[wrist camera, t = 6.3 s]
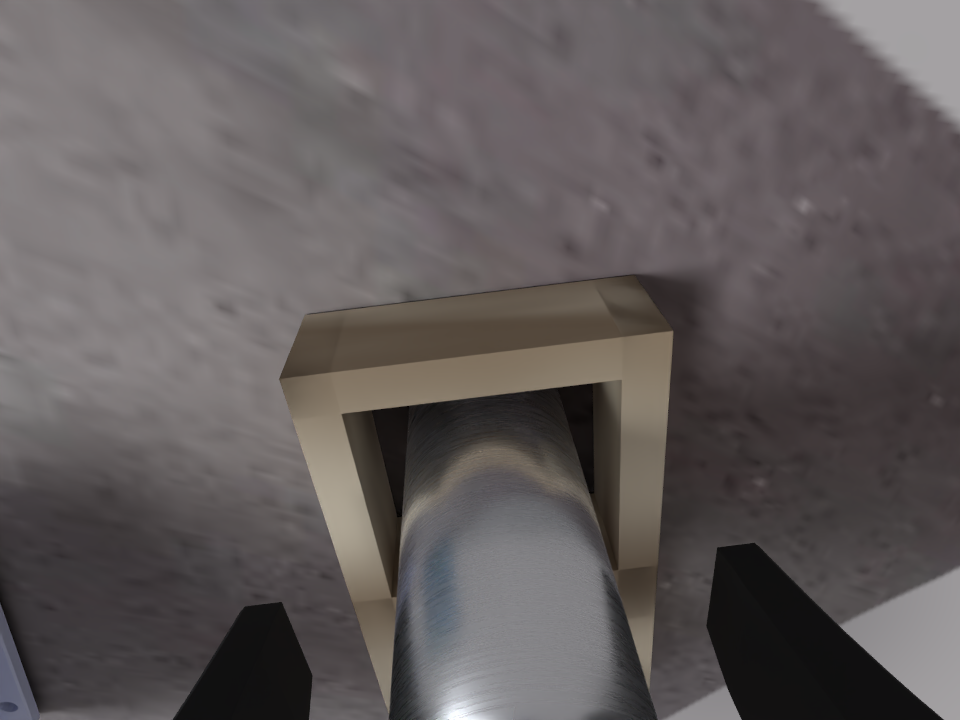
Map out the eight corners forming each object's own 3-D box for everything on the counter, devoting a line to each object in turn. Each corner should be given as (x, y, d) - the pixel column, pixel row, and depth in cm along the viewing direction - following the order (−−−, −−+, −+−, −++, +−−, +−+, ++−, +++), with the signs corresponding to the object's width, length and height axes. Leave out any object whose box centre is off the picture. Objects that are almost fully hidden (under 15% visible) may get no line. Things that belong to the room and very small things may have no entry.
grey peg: (554, 468, 16) (645, 841, 9) (412, 472, 15) (393, 858, 9) (567, 345, 14) (695, 696, 7) (405, 348, 14) (373, 712, 7)
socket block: (623, 667, 20) (687, 897, 15) (411, 692, 20) (403, 931, 15) (634, 275, 13) (764, 460, 8) (305, 314, 13) (220, 526, 8)
